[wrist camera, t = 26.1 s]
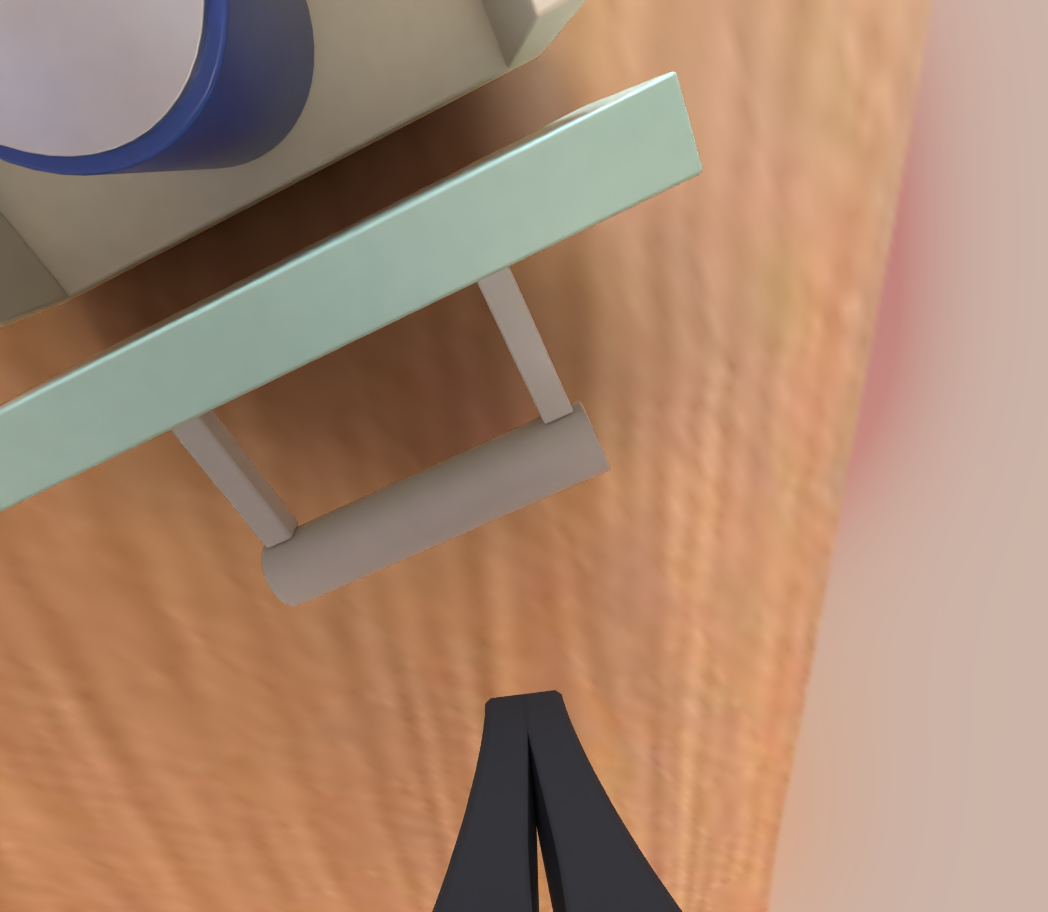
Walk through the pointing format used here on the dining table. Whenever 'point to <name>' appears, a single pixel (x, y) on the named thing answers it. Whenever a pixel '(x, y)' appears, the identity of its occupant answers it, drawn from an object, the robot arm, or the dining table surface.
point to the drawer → (337, 280)
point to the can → (150, 82)
